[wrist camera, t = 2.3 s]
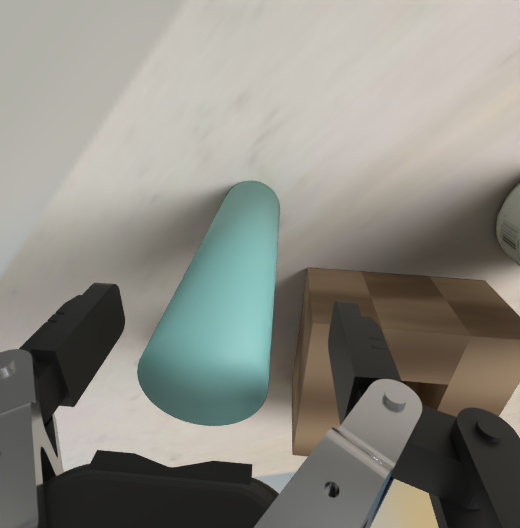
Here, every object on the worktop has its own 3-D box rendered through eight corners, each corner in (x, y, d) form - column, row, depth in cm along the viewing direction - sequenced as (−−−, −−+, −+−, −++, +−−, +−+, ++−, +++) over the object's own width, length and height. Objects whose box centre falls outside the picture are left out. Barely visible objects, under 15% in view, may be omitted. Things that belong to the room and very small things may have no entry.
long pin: (223, 178, 20) (128, 327, 8) (281, 182, 20) (271, 339, 8) (224, 232, 22) (146, 419, 10) (277, 236, 22) (264, 431, 10)
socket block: (307, 267, 23) (312, 323, 18) (485, 280, 23) (544, 341, 17) (291, 386, 29) (292, 454, 24) (432, 399, 28) (464, 471, 23)
